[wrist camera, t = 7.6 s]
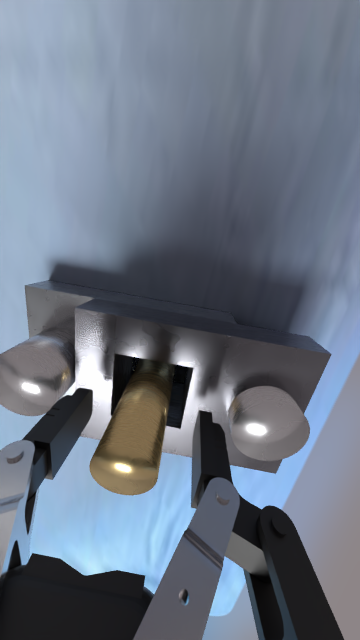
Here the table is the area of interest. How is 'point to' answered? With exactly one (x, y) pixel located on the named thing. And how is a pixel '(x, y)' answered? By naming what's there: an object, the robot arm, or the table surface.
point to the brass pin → (135, 432)
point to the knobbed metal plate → (170, 347)
